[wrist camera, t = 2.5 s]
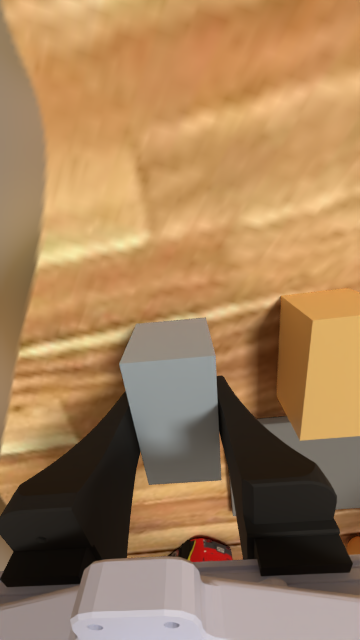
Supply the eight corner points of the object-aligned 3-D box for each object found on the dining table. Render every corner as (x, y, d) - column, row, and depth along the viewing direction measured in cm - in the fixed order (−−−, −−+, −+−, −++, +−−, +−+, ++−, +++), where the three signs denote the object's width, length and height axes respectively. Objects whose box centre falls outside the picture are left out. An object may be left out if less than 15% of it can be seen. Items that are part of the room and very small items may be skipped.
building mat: (381, 407, 18) (388, 413, 17) (355, 500, 22) (359, 507, 22) (225, 421, 18) (226, 427, 18) (232, 509, 23) (233, 516, 23)
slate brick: (205, 317, 13) (215, 355, 9) (212, 421, 16) (221, 480, 13) (136, 324, 13) (119, 363, 10) (156, 425, 16) (148, 484, 13)
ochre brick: (345, 287, 14) (403, 310, 10) (329, 389, 17) (368, 435, 14) (279, 295, 14) (312, 320, 11) (275, 394, 18) (299, 440, 14)
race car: (174, 583, 31) (173, 633, 27) (139, 572, 29) (133, 622, 26) (238, 542, 26) (247, 594, 22) (200, 526, 25) (203, 579, 21)
